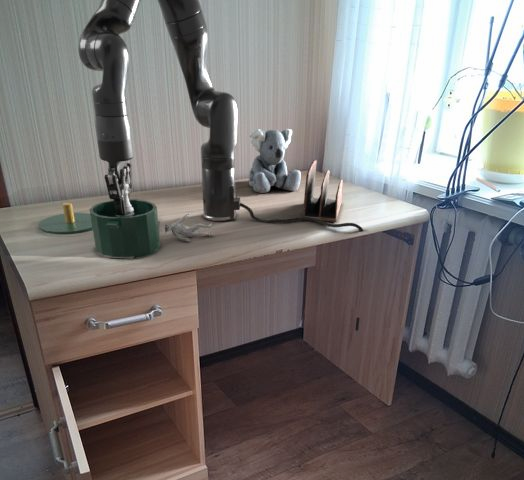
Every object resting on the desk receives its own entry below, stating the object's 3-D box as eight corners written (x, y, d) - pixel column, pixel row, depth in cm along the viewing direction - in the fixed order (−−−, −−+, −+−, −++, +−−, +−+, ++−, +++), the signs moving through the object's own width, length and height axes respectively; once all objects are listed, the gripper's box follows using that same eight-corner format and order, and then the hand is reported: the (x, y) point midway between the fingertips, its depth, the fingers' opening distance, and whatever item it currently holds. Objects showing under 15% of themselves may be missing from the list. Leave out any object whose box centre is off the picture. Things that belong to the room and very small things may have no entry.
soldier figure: (212, 244, 134) (168, 235, 128) (205, 251, 138) (162, 243, 132) (212, 217, 136) (169, 207, 130) (205, 225, 140) (163, 216, 134)
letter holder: (302, 220, 149) (305, 170, 142) (310, 201, 166) (313, 156, 158) (336, 222, 147) (341, 172, 140) (341, 203, 164) (345, 158, 156)
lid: (109, 217, 148) (106, 196, 145) (91, 237, 134) (87, 213, 131) (53, 216, 148) (48, 194, 145) (28, 235, 134) (23, 212, 131)
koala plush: (256, 195, 171) (256, 132, 160) (238, 182, 185) (238, 124, 175) (302, 191, 176) (306, 130, 166) (282, 179, 190) (284, 122, 180)
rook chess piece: (117, 213, 125) (113, 179, 121) (135, 213, 126) (132, 179, 122) (114, 218, 122) (109, 184, 117) (133, 218, 122) (129, 184, 118)
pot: (167, 234, 137) (164, 197, 131) (149, 264, 119) (145, 222, 114) (110, 232, 137) (104, 195, 132) (83, 262, 119) (76, 220, 114)
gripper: (121, 143, 108) (131, 222, 117) (138, 132, 120) (146, 204, 129) (87, 142, 108) (99, 221, 117) (107, 131, 120) (116, 203, 129)
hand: (123, 211), depth 123 cm, fingers closed on rook chess piece, 4 cm apart
